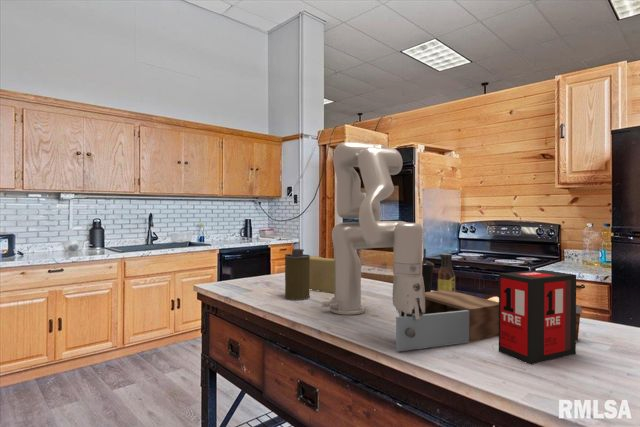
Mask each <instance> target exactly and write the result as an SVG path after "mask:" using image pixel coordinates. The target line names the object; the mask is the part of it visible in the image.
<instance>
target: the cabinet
mask: <svg viewBox="0 0 640 427" xmlns="http://www.w3.org/2000/svg"><path fill="white" fill-rule="evenodd" d="M462 310H468V311H469V342H468V343H473V342H477V341H482V340H486V339H491V338H496V337H499V301H498V302H497V301H496V300H495V301H494V300H491V299H488V298H487V299H486V298H483V297H479V296H473V295H470V294H466V293H462V292H459V291H455V292H454V291H450V290H440V291H438V290H433V291H432V290H431V292H425V313H424V314H432V313H442V312H452V311H462ZM419 315H422V314H421V313H419Z"/></svg>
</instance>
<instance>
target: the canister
mask: <svg viewBox="0 0 640 427" xmlns="http://www.w3.org/2000/svg"><path fill="white" fill-rule="evenodd" d="M304 251H305V250H304V249H303V248H293V249H292V253H285V254H284V281H285V283H284V288H285V290H284V292H285V293H284V295H285V296H284V299H286V300H290V301H304V299H305V300H309V299H310V297H311V296H310V290H309V282H310V256H311V255H310V254H304ZM308 298H309V299H308Z"/></svg>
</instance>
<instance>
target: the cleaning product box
mask: <svg viewBox="0 0 640 427" xmlns="http://www.w3.org/2000/svg"><path fill="white" fill-rule="evenodd" d="M498 302H499V336H498V353H501V354H503V355H505V356H508V357H511V358H513V359H515V358H516V360H518V361H520V360H521V361H520V362H523V363H525V362H526V364H527V365H530V364H531V365H535V364H540V363H543V362H548V361H552V360H556V359H561V358H565V357H569V356H574V355H577V341H576V306H577V274H573V273H566V272H559V271H554V270H547V269H535V270H525V271H513V272H502V273H501V272H499V273H498ZM539 362H540V363H539Z"/></svg>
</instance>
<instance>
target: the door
mask: <svg viewBox="0 0 640 427" xmlns="http://www.w3.org/2000/svg"><path fill="white" fill-rule="evenodd" d="M419 317H420V320H413V316H403V317H399V316H396V317H395V318H396V319H395V325H396V326H395V350H396V351H397V352H405V351H411V350H418V349H427V348H433V347H441V346H448V345H449V346H450V345H455V344H463V343H470V342H469V311H468V310H462V311H452V312H442V313H432V314H422V315H419Z"/></svg>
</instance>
